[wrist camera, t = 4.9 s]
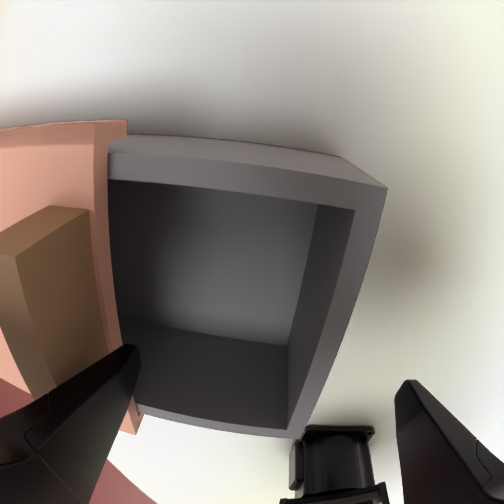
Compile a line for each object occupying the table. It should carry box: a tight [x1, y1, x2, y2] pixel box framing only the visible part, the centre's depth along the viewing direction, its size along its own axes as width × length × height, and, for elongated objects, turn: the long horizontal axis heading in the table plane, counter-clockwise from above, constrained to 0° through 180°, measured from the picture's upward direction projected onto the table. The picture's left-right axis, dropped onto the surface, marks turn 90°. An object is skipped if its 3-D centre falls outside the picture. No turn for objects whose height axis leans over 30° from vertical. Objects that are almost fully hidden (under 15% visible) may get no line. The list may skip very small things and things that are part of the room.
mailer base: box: [107, 134, 388, 439], centre depth 14 cm, size 16×12×7 cm
